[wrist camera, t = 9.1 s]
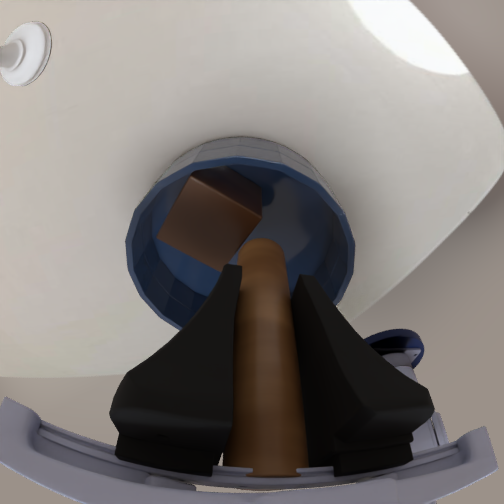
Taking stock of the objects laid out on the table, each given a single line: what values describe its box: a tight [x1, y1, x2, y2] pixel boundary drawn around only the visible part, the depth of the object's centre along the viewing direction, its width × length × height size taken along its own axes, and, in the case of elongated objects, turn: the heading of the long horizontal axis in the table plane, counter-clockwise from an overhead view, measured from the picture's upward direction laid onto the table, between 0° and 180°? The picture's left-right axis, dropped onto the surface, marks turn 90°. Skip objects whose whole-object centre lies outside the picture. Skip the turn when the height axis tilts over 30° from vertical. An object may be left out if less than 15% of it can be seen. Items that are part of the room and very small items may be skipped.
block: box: [156, 166, 262, 272], centre depth 16 cm, size 4×4×4 cm
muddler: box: [223, 238, 309, 491], centre depth 11 cm, size 2×2×11 cm
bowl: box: [125, 137, 355, 330], centre depth 18 cm, size 13×13×4 cm
